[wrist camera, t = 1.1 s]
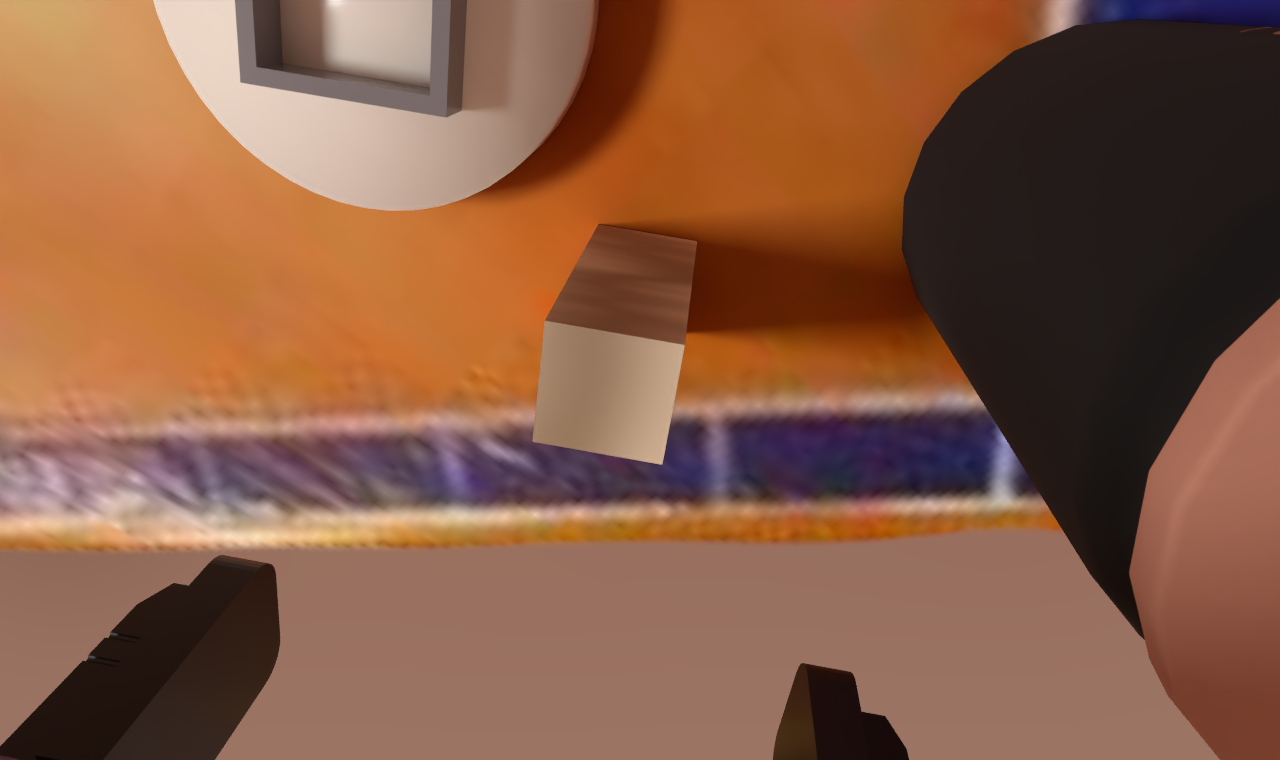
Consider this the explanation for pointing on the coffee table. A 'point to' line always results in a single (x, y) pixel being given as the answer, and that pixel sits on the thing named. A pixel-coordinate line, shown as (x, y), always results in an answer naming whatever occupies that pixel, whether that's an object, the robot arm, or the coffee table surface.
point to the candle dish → (386, 87)
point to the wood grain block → (616, 346)
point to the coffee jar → (1131, 327)
